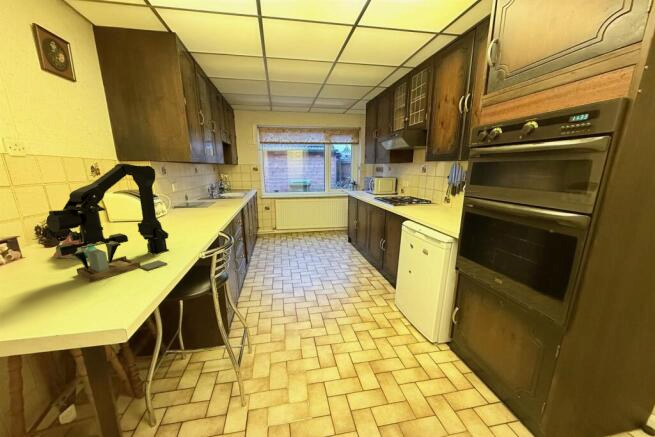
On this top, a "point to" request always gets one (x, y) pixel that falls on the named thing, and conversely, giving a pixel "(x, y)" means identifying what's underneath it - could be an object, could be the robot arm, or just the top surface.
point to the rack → (95, 276)
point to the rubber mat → (153, 265)
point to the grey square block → (97, 260)
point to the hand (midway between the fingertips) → (99, 265)
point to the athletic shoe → (75, 244)
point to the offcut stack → (117, 264)
